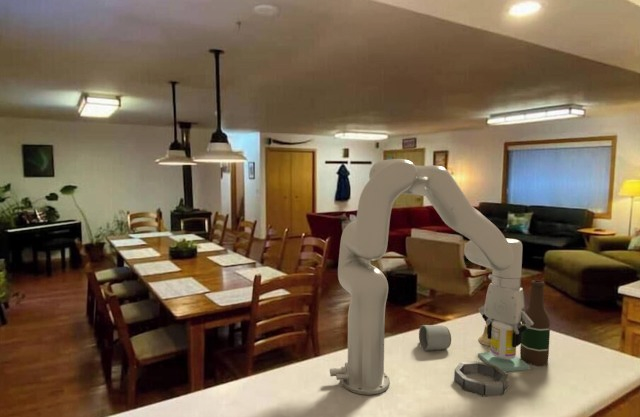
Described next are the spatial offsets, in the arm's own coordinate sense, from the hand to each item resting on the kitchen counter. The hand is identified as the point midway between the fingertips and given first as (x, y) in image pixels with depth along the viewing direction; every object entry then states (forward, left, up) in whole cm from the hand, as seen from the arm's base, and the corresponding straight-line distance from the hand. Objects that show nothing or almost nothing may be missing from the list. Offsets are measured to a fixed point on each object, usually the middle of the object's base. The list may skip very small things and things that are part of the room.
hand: (503, 341), depth 120 cm
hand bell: (+5, +14, -7) cm, 16 cm away
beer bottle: (+10, 0, -7) cm, 12 cm away
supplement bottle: (0, 0, -4) cm, 4 cm away
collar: (-13, -10, -6) cm, 17 cm away
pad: (0, 0, -6) cm, 6 cm away
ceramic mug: (-16, +14, -7) cm, 22 cm away
